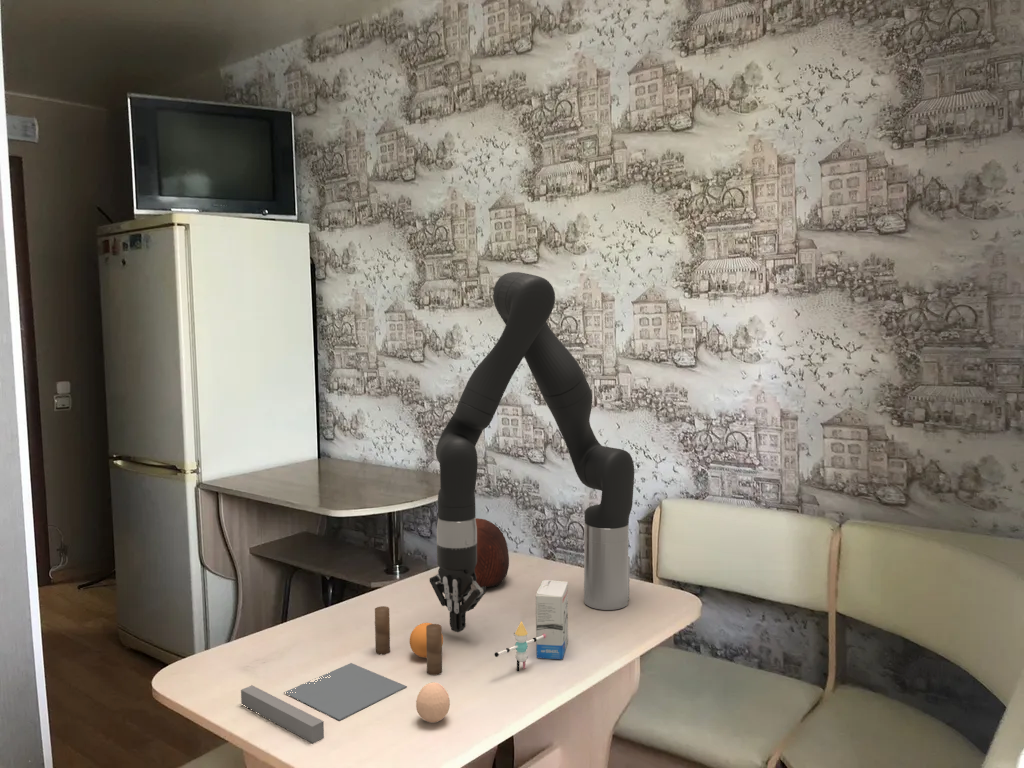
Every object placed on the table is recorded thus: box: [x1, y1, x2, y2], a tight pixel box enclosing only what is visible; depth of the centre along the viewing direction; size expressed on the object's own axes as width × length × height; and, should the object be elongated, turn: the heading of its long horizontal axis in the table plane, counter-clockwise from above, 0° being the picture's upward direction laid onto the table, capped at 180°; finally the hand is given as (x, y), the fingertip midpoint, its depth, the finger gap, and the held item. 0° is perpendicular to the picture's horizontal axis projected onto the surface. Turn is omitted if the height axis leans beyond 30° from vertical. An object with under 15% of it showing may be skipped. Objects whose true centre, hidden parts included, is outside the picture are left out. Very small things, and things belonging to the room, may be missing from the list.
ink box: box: [535, 579, 569, 660], centre depth 149 cm, size 9×5×12 cm, turn 169°
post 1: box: [374, 605, 391, 655], centre depth 148 cm, size 3×3×8 cm
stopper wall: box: [240, 684, 325, 744], centre depth 124 cm, size 2×18×2 cm, turn 51°
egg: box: [415, 682, 451, 724], centre depth 124 cm, size 5×5×6 cm
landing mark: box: [283, 662, 407, 722], centre depth 134 cm, size 14×14×1 cm
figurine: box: [475, 517, 510, 588], centre depth 184 cm, size 14×16×15 cm
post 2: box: [426, 623, 443, 676], centre depth 140 cm, size 3×3×8 cm
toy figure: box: [493, 620, 546, 672], centre depth 141 cm, size 12×2×9 cm, turn 133°
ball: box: [409, 622, 444, 659], centre depth 146 cm, size 6×6×6 cm
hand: (457, 630), depth 154 cm, fingers closed
